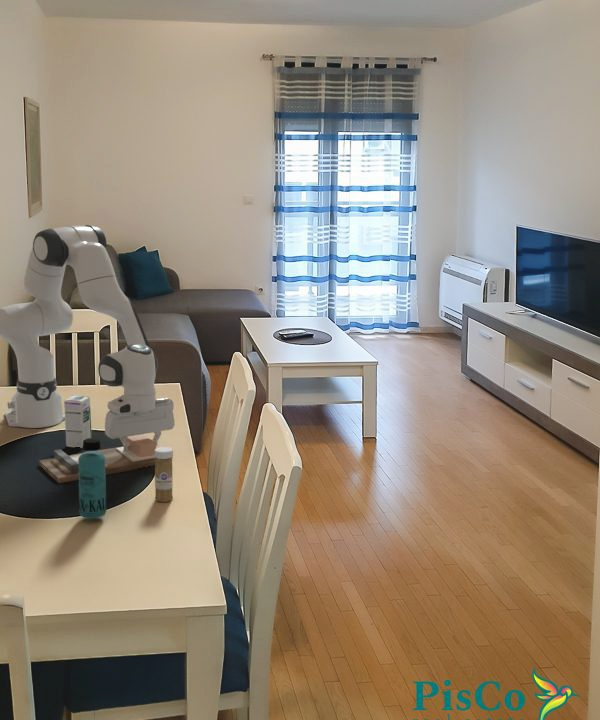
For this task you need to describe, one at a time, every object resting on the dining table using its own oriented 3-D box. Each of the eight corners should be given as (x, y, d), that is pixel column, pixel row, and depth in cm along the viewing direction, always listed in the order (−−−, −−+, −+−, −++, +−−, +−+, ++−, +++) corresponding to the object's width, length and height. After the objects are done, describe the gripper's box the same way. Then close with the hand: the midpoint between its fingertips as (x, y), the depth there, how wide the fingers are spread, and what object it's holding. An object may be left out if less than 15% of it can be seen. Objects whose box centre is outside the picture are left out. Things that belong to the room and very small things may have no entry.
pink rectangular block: (116, 449, 262) (115, 436, 261) (141, 445, 266) (141, 432, 265) (133, 461, 252) (132, 448, 251) (159, 457, 257) (159, 443, 256)
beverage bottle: (81, 514, 219) (78, 435, 215) (109, 513, 220) (107, 435, 215) (77, 524, 213) (74, 443, 209) (105, 524, 214) (103, 443, 209)
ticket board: (39, 465, 252) (38, 451, 251) (132, 449, 267) (132, 436, 266) (58, 483, 239) (58, 469, 238) (156, 465, 254) (155, 451, 253)
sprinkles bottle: (157, 503, 227) (157, 452, 224) (152, 497, 231) (152, 447, 228) (175, 501, 229) (175, 450, 226) (170, 495, 233) (169, 445, 230)
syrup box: (84, 448, 267) (82, 401, 264) (65, 446, 268) (63, 399, 265) (92, 442, 272) (90, 396, 269) (73, 441, 273) (72, 394, 270)
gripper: (168, 394, 265) (168, 439, 268) (102, 403, 253) (103, 450, 256) (178, 399, 259) (178, 445, 263) (110, 409, 248) (111, 457, 251)
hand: (140, 448), depth 259 cm, fingers open, 7 cm apart
